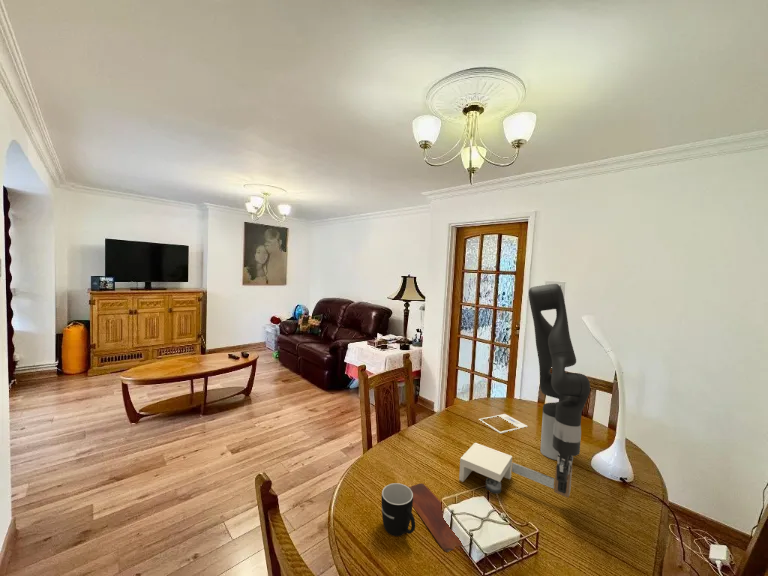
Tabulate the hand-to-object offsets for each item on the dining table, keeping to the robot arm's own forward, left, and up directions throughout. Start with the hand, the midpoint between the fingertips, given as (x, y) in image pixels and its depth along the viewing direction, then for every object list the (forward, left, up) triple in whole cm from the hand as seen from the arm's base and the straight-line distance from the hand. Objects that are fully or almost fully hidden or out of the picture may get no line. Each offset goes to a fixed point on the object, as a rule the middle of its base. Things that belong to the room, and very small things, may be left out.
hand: (563, 487), depth 100 cm
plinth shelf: (+17, -17, -7) cm, 25 cm away
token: (+17, -12, -7) cm, 22 cm away
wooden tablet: (+41, -5, -7) cm, 42 cm away
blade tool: (+4, -5, -1) cm, 7 cm away
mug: (+54, 0, -7) cm, 54 cm away
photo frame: (-15, -55, -7) cm, 58 cm away
